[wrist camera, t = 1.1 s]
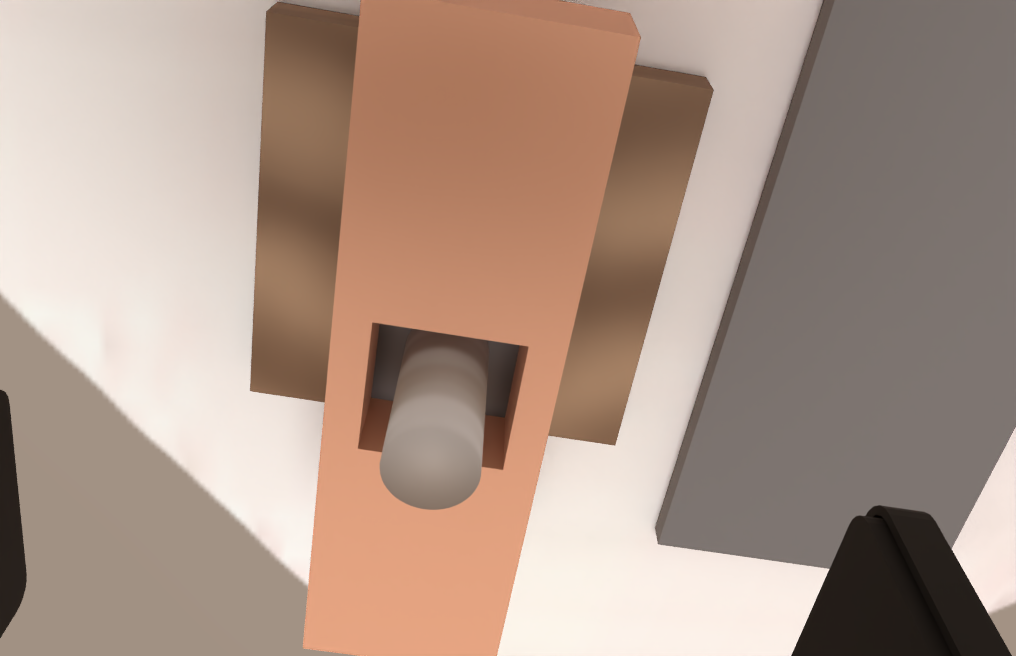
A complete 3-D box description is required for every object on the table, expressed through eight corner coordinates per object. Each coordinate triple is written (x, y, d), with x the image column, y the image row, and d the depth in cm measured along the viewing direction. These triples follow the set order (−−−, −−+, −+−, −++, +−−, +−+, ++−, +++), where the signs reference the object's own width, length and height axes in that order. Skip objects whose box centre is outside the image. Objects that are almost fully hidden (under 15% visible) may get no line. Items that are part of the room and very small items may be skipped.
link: (377, -33, 22) (361, -13, 20) (629, 13, 23) (641, 37, 21) (318, 589, 32) (302, 648, 30) (495, 613, 32) (492, 673, 30)
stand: (277, 1, 30) (120, 137, 19) (706, 77, 31) (812, 251, 20) (259, 369, 37) (137, 638, 26) (612, 422, 38) (649, 705, 27)
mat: (845, -68, 29) (855, -64, 28) (1215, 1, 30) (1235, 8, 29) (655, 528, 41) (658, 544, 40) (924, 566, 42) (933, 583, 41)
